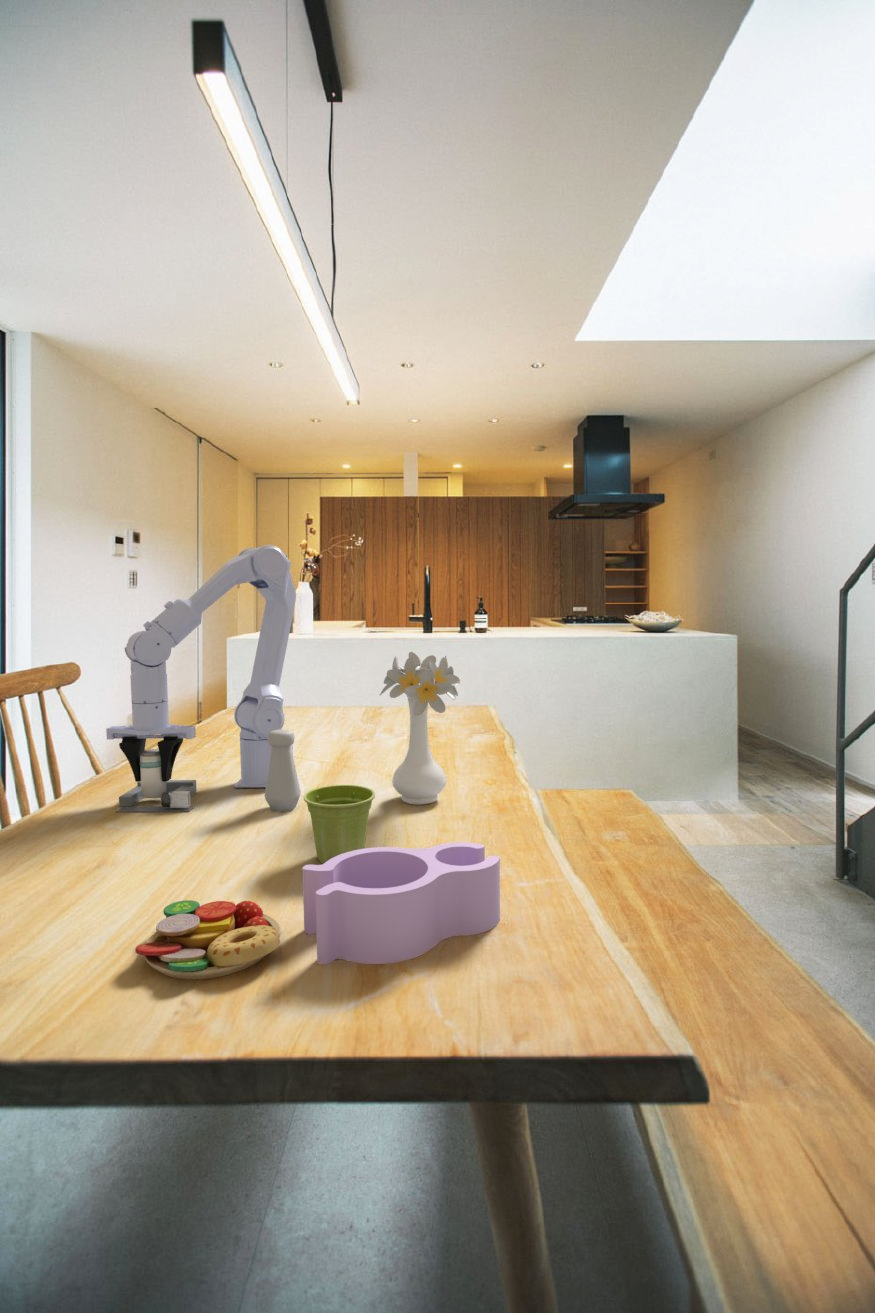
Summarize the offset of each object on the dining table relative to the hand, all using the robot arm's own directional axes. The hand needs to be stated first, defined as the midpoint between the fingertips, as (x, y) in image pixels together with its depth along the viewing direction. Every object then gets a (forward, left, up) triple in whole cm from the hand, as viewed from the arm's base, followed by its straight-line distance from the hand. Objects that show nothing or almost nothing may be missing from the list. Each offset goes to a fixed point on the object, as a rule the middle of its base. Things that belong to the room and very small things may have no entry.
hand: (153, 780), depth 118 cm
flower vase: (-46, 0, -4) cm, 46 cm away
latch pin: (-6, +5, -4) cm, 9 cm away
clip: (-46, +46, -4) cm, 65 cm away
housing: (-2, 0, -4) cm, 4 cm away
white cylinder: (0, 0, -2) cm, 2 cm away
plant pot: (-36, +26, -4) cm, 45 cm away
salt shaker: (-23, +4, -4) cm, 24 cm away
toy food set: (-27, +50, -4) cm, 57 cm away
